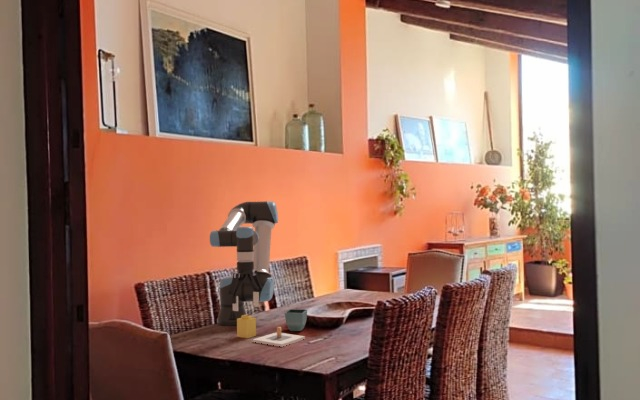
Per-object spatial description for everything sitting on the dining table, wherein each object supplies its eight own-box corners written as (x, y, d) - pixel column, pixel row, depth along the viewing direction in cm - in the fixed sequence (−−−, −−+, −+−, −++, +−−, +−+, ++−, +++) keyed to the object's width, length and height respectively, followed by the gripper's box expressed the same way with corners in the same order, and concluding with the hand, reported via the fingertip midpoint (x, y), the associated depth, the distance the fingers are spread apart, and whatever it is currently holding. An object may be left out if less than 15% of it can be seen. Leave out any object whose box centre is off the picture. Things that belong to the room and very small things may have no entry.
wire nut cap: (246, 334, 267) (245, 313, 267) (256, 335, 263) (255, 315, 263) (237, 336, 262) (236, 316, 262) (247, 338, 258) (246, 317, 258)
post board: (276, 334, 264) (276, 322, 264) (305, 339, 255) (304, 326, 255) (253, 342, 251) (252, 328, 251) (282, 347, 242) (281, 333, 242)
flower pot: (284, 331, 270) (284, 312, 270) (290, 327, 278) (289, 308, 278) (303, 332, 268) (302, 313, 268) (307, 328, 276) (307, 309, 276)
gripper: (257, 258, 275) (258, 303, 275) (219, 263, 255) (220, 312, 254) (269, 259, 271) (270, 305, 270) (231, 263, 250) (232, 313, 250)
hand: (246, 308), depth 262 cm, fingers open, 13 cm apart
